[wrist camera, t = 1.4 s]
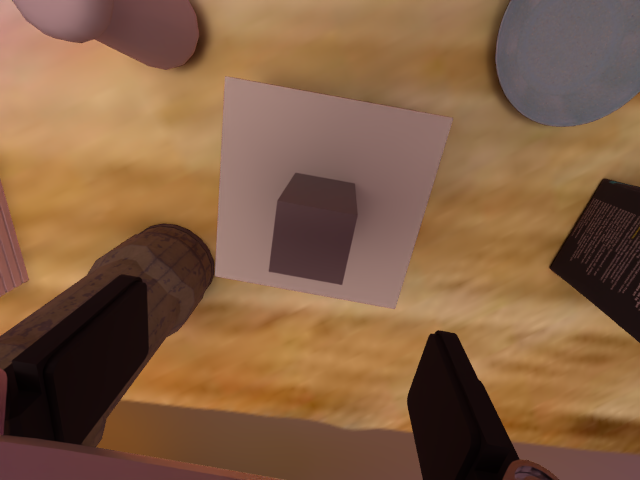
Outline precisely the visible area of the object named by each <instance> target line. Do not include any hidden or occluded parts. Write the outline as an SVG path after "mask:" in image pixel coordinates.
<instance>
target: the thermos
mask: <svg viewBox="0 0 640 480" xmlns="http://www.w3.org/2000/svg"><path fill="white" fill-rule="evenodd" d="M121 274H125V275H130V276H136V277H140V278H141V279H142V282H144V283H146V285H147V303H148V335H149V351H148V354H147V357H146V359H145V360H144V362H143V363H142V364H141V365H140V367H139V368H138V369H137V371H136V372H135V373H134V375H133V376H132V377H131V379H130V380H129V381H128V383H127V384H126V385H125V387H124V388H123V389H122V391H121V392H120V393H119V395H118V396H117V397H116V399H115V400H114V401H113V402H112V404H111V405H110V406H109V408H108V409H107V410H106V412H105V413H104V414H103V416H102V417H101V418H100V420H99V421H98V422H97V424H96V425H95V426H94V428H93V429H92V430H91V432H90V433H89V434H88V435H87V437H86V438H85V439H84V441H83V442H82V443H81V445H83V446H90V447H96V446H97V445H98V443H99V442H100V441H101V439H102V435H103V431H104V427H105V423H106V419H107V417H108V416H109V414H110V413H111V412H112V410H113V409H114V408H115V406H116V405H117V404H118V402H119V401H120V399H121V398H122V397H123V395H124V394H125V393H126V391H127V390H128V389H129V387H130V386H131V385H132V383H133V382H134V380H135V379H136V378H137V376H138V375H139V374H140V372H141V371H142V370H143V368H144V367H145V366H146V364H147V363H148V362H149V360H150V359H151V357H152V356H153V355H154V353H155V352H156V351H157V349H158V348H159V347H160V345H161V344H162V343H163V341H164V340H165V338H166V337H168V336H170V335H171V334H173V333H175V332H177V331H178V330H179V329H180V328H181V327H182V325H183V324H184V323H185V322H186V321H187V319H188V318H189V316H190V315H191V313H192V312H193V311H194V309H195V308H196V306H197V305H198V303H199V302H200V301H201V299H202V298H203V295H204V292H205V290H206V289H207V288H208V286H209V285H210V284H211V281H212V278H213V275H214V261H213V258H212V255H211V253H210V250H209V249H208V247H207V246H206V245H205V243H204V242H203V241H202V240H201V238H199V237H198V236H197V235H195V234H194V233H192V232H191V231H190V230H188V229H185V228H183V227H180V226H178V225H172V224H159V225H154V226H150V227H149V228H147V229H146V230H144V231H142V232H141V233H139V234H136V235H134V236H132V237H131V238H129V239H128V240H126V241H124V242H123V243H121V244H120V245H118V246H117V247H116V248H114V249H113V250H111V251H110V252H108V253H107V254H105V255H104V256H102V257H101V258H99V259H98V260H96V261H95V263H94V265H93V266H92V268H91V269H90V271H89V272H88V274H87V276H85V277H84V278H82V279H81V280H80V281H78V282H77V283H75V284H74V285H72V286H71V287H70V288H68V289H67V290H65V291H64V292H62V293H61V294H60V295H58V296H57V297H55V298H54V299H53V300H51V301H50V302H48V303H47V304H45V305H44V306H43V307H41V308H40V309H38V310H37V311H35V312H34V313H33V314H31V315H30V316H28V317H27V318H25V319H24V320H23V321H21V322H20V323H18V324H17V325H16V326H14V327H13V328H11V329H10V330H8V331H7V332H6V333H4V334H3V335H1V336H0V368H1V369H2V370H4V369H5V368H6V367H7V366H9V365H10V364H11V363H12V360H13V359H14V358H15V357H17V356H18V355H19V354H20V353H22V352H23V351H24V350H26V349H27V348H28V347H29V346H31V345H32V344H33V343H34V342H36V341H37V340H38V339H39V338H41V337H42V336H43V335H44V334H46V333H47V332H48V331H50V330H51V329H52V328H53V327H55V326H56V325H57V324H58V323H60V322H61V321H62V320H63V319H65V318H66V317H67V316H68V315H70V314H71V313H72V312H73V311H75V310H76V309H77V308H79V307H80V306H81V305H82V304H84V303H85V302H86V301H87V300H89V299H90V298H91V297H92V296H94V295H95V294H96V293H97V292H99V291H100V290H101V289H103V288H104V287H105V286H106V285H108V284H109V283H110V282H111V281H113V280H114V279H115V278H116V277H118V276H119V275H121Z"/></svg>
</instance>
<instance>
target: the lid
mask: <svg viewBox="0 0 640 480" xmlns="http://www.w3.org/2000/svg"><path fill="white" fill-rule="evenodd" d="M452 121H453V118H451V117H446V116H441V115H435V114H430V113H424V112H419V111H413V110H408V109H403V108H397V107H392V106H386V105H381V104H375V103H370V102H364V101H359V100H353V99H348V98H342V97H337V96H331V95H326V94H320V93H315V92H309V91H304V90H298V89H293V88H287V87H282V86H277V85H271V84H266V83H260V82H255V81H249V80H244V79H238V78H233V77H226V76H225V89H224V108H223V128H222V147H221V167H220V187H219V206H218V226H217V245H216V265H215V276H216V277H222V278H227V279H233V280H238V281H244V282H249V283H255V284H260V285H266V286H271V287H277V288H282V289H288V290H293V291H299V292H304V293H310V294H315V295H321V296H326V297H332V298H337V299H343V300H348V301H354V302H359V303H365V304H370V305H376V306H381V307H386V308H392V309H395V308H396V304H397V301H398V298H399V295H400V291H401V288H402V285H403V282H404V278H405V275H406V272H407V268H408V265H409V262H410V259H411V255H412V252H413V249H414V245H415V242H416V239H417V236H418V232H419V229H420V226H421V223H422V219H423V216H424V213H425V209H426V206H427V203H428V200H429V196H430V193H431V190H432V186H433V183H434V180H435V177H436V173H437V170H438V167H439V164H440V160H441V157H442V154H443V150H444V147H445V144H446V141H447V137H448V134H449V131H450V127H451V124H452Z"/></svg>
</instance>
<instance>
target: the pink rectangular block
mask: <svg viewBox="0 0 640 480" xmlns="http://www.w3.org/2000/svg"><path fill="white" fill-rule="evenodd" d="M28 280H29V278H28V275H27V271H26V268H25V264H24V261H23V257H22V254H21V250H20V247H19V243H18V240H17V236H16V233H15V229H14V226H13V222H12V219H11V215H10V212H9V208H8V205H7V201H6V198H5V194H4V191H3V187H2V184H1V180H0V297H1V296H2V295H4V294H5V292H9V291H11V290H12V289H14V288H13V287H18V286H19V285H21V284H22V283H24V282H26V281H28ZM21 282H22V283H21Z"/></svg>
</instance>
